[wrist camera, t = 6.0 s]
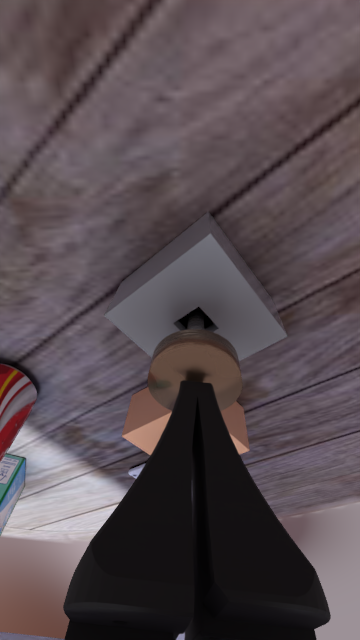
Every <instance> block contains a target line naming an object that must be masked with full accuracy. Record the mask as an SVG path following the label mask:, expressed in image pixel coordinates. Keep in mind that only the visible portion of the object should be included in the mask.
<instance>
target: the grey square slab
mask: <svg viewBox="0 0 360 640" xmlns="http://www.w3.org/2000/svg"><path fill="white" fill-rule="evenodd" d="M197 307H200V308H201V309H202V310H203V311H204V312H205V313H206V315H207V316H208V317H209V318H210V319H211V320H212V321H213V322H214V324H212V325H210V326H209V327H207V328H205V329H204V330H207V331H211V332H214V333H216V334H219V335H220V336H222V337H224V338H225V339H227V340H228V341H229V342H230V343H231V344H232V345H233V347H234V348H235V350H236V352H237V354H238V359H239V361H241V360H242V359H244V358H246V357H248V356H250V355H252V354H254V353H256V352H258V351H260V350H262V349H264V348H266V347H268V346H270V345H272V344H274V343H276V342H278V341H280V340H282V339H284V338H286V337H288V335H287V333H286V330H285V328H284V326H283V323H282V321H281V319H280V316H279V314H278V311H277V309H276V307H275V304H274V302H273V300H272V298H271V297H270V295H269V294H268V293H267V291H266V290H265V288H264V287H263V286H262V284H261V283H260V282H259V280H258V279H257V277H256V276H255V275H254V273H253V272H252V271H251V269H250V268H249V266H248V265H247V264H246V262H245V261H244V260H243V258H242V257H241V255H240V254H239V253H238V251H237V250H236V249H235V247H234V246H233V245H232V243H231V242H230V240H229V239H228V238H227V236H226V235H225V234H224V232H223V231H222V229H221V228H220V227H219V225H218V224H217V223H216V221H215V220H214V218H213V217H212V216H211V214H210V213H209V212H207V213H206V214H205V215H204V216H202V217H201V218H200V219H199V220H197V221H196V222H195V223H194V224H192V225H191V226H190V227H189V228H188V229H186V230H185V231H184V232H183V233H181V234H180V235H179V236H178V237H176V238H175V239H174V240H173V241H172V242H170V243H169V244H168V245H167V246H165V247H164V248H163V249H162V250H160V251H159V252H158V253H157V254H155V255H154V256H153V257H152V258H151V259H149V260H148V261H147V262H146V263H144V264H143V265H142V266H141V267H139V268H138V269H137V270H136V271H135V272H133V273H132V274H131V275H130V276H128V277H127V278H126V279H125V280H123V281H122V282H121V284H120V286H119V288H118V290H117V292H116V294H115V295H114V297H113V299H112V301H111V303H110V305H109V307H108V309H107V311H106V312H105V314H104V316H105V317H106V318H107V319H108V320H110V321H111V322H112V323H113V324H114V325H115V326H116V327H118V328H119V329H120V330H121V331H122V332H123V333H124V334H125V335H127V336H128V337H129V338H130V339H131V340H132V341H133V342H134V343H136V344H137V345H138V346H139V347H140V348H141V349H142V350H144V351H145V352H146V353H147V354H148V355H149V356H150V357H151V358H152V356H153V352H154V350H155V348H156V346H157V345H158V344H159V342H160V341H162V340H163V339H164V338H165V337H167V336H168V335H170V334H172V333H175V332H178V331H181V330H187V329H186V328H185V327H184V326H183V325H182V324H181V323H180V322H179V321H178V320H179V319H180V318H182V317H183V316H185V315H186V314H188V313H190V312H191V311H193V310H194V309H196V308H197Z"/></svg>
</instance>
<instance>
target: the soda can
mask: <svg viewBox="0 0 360 640" xmlns="http://www.w3.org/2000/svg"><path fill="white" fill-rule="evenodd" d="M36 399H37V391H36V388H35V386H34V385H33V383H32V382H31V381H30V380H29V378H28V377H27V376H26V375H25V374H24V373H23V372H21V371H20V370H18V369H17V368H15V367H12V366H10V365H6V364H1V363H0V462H1V461H2V459H3V457H4V456H5V454H6V452H7V451H8V449H9V448H10V446H11V444H12V443H13V441H14V439H15V438H16V436H17V434H18V433H19V431H20V429H21V428H22V426H23V424H24V423H25V421H26V419H27V417H28V416H29V414H30V412H31V410H32V408H33V406H34V404H35V401H36Z"/></svg>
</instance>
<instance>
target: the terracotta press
mask: <svg viewBox="0 0 360 640" xmlns="http://www.w3.org/2000/svg"><path fill="white" fill-rule="evenodd" d="M171 413H172V411H171V410H169V409H167V408H165V407H163V406H162V405H161V404H159V403H158V402H157V401H156V400H155V399H154V398H153V396H152V395H151V393H150V391H149V388H148V387H147V388H145V389H143V390H141V391H139V392H137V393H136V394H134V395H132V398H131V402H130V406H129V410H128V414H127V417H126V421H125V425H124V429H123V433H122V437H124V438H125V439H127V440H128V441H130V442H131V443H133V444H134V445H136V446H137V447H139V448H140V449H142V450H143V451H145V452H146V453H148V454H149V455H151V454H152V452H153V450H154V449H155V447H156V445H157V443H158V441H159V439H160V437H161V435H162V433H163V431H164V429H165V427H166V425H167V422H168V420H169V418H170V415H171ZM221 414H222V417H223V419H224V422H225V424H226V426H227V429H228V431H229V434H230V436H231V438H232V440H233V443H234V445H235V447H236V449H237V451H238V453H239V454H241V453H244V452H247V451H250V449H249V442H248V436H247V429H246V422H245V416H244V409H243V407H242V406H241V405H240V404H239V403H238V402H237V401H235V402H234V403H233V404H232V405H231V406H229V407H228V408H226V409H224V410H222V411H221Z"/></svg>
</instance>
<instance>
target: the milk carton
mask: <svg viewBox="0 0 360 640" xmlns="http://www.w3.org/2000/svg"><path fill="white" fill-rule="evenodd" d="M24 482H25V458H21V457H17V456H13V455H8V454H5V456H4V457H3V459H2V461H1V462H0V535H1V533H2V531H3V529H4V527H5V525H6V523H7V521H8V519H9V517H10V515H11V513H12V511H13V509H14V507H15V505H16V503H17V501H18V499H19V497H20V495H21V493H22V491H23V489H24Z"/></svg>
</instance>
